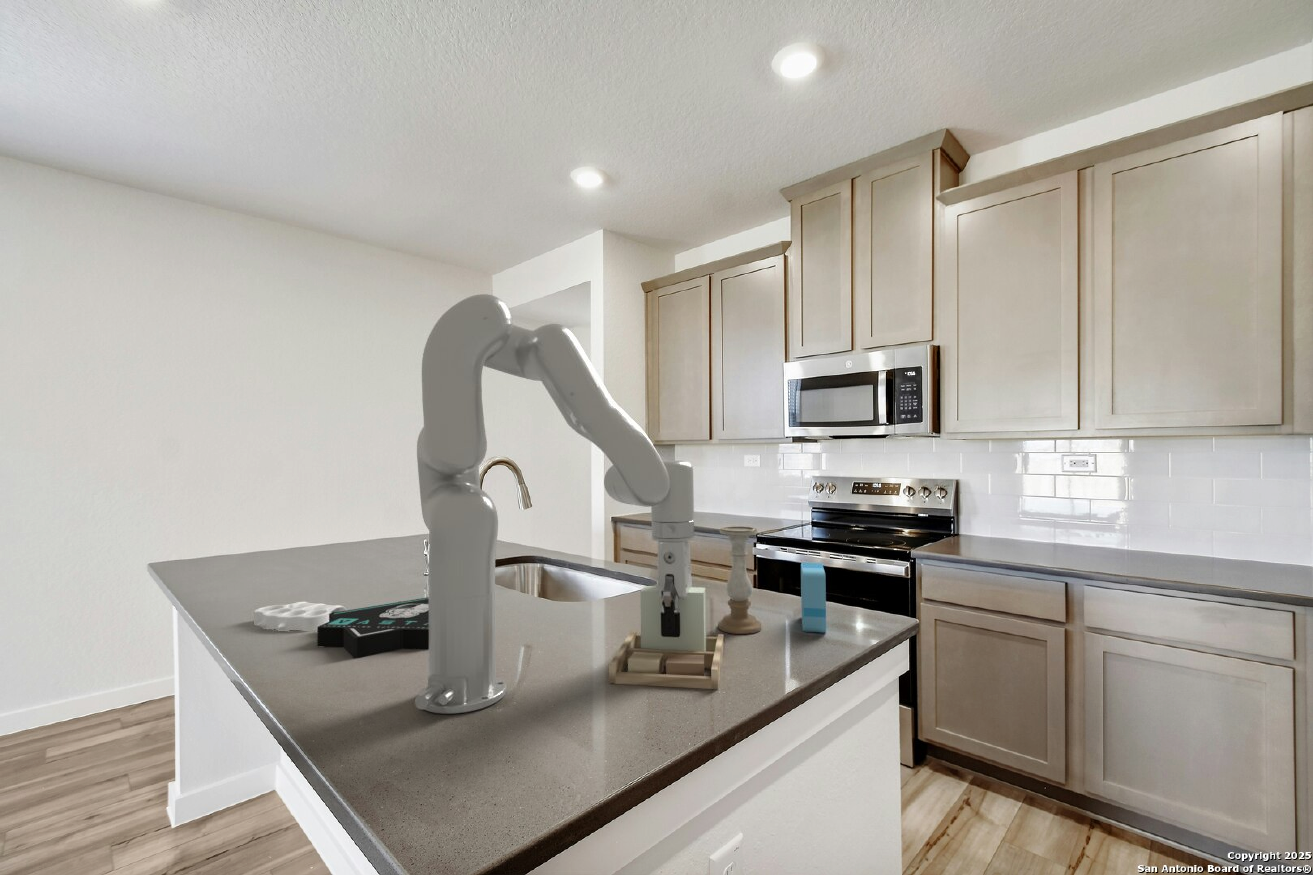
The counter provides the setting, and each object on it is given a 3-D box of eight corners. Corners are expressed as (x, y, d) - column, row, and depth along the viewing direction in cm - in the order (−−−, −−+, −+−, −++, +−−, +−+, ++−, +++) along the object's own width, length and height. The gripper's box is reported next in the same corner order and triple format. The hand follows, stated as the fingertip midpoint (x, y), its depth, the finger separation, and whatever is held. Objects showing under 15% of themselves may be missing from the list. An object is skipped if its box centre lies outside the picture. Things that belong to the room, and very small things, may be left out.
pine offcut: (658, 680, 96) (658, 662, 96) (628, 678, 97) (628, 660, 97) (663, 671, 100) (663, 653, 100) (634, 669, 101) (633, 651, 101)
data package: (826, 634, 118) (825, 573, 119) (802, 633, 119) (801, 572, 119) (823, 617, 130) (822, 562, 130) (801, 616, 131) (800, 561, 131)
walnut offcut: (704, 682, 95) (703, 663, 95) (666, 681, 96) (666, 662, 96) (704, 673, 99) (704, 654, 99) (667, 672, 100) (667, 654, 100)
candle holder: (720, 635, 119) (719, 531, 119) (715, 622, 127) (714, 525, 128) (765, 634, 119) (764, 531, 119) (756, 621, 128) (755, 525, 128)
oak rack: (717, 689, 92) (717, 669, 92) (609, 683, 95) (609, 664, 95) (723, 651, 109) (723, 634, 109) (631, 646, 112) (631, 630, 112)
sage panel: (704, 663, 103) (703, 592, 103) (641, 660, 105) (640, 591, 105) (706, 655, 107) (705, 587, 107) (645, 652, 109) (644, 585, 109)
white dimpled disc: (357, 619, 134) (298, 638, 120) (297, 612, 140) (234, 630, 126) (357, 603, 134) (298, 621, 120) (297, 597, 140) (235, 614, 126)
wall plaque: (436, 662, 106) (497, 615, 136) (436, 639, 106) (497, 597, 136) (276, 658, 109) (371, 613, 139) (276, 636, 109) (371, 595, 139)
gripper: (688, 538, 97) (690, 644, 97) (698, 524, 114) (700, 614, 114) (643, 537, 99) (644, 642, 98) (659, 524, 116) (661, 613, 115)
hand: (674, 627), depth 106 cm, fingers open, 9 cm apart
